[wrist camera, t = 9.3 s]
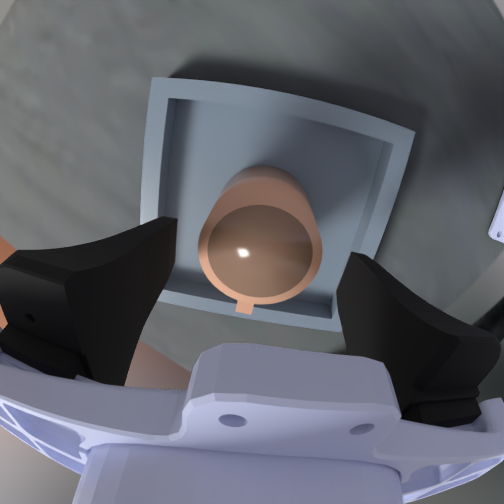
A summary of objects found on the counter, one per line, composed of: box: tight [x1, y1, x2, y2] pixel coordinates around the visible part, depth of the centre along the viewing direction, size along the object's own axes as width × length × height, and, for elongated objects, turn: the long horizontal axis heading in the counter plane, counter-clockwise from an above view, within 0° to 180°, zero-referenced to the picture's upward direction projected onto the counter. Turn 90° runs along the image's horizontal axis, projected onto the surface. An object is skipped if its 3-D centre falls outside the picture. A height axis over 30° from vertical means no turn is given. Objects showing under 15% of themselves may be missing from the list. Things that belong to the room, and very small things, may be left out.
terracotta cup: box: [198, 165, 323, 315], centre depth 14 cm, size 5×6×5 cm
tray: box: [140, 77, 415, 332], centre depth 16 cm, size 13×13×2 cm
